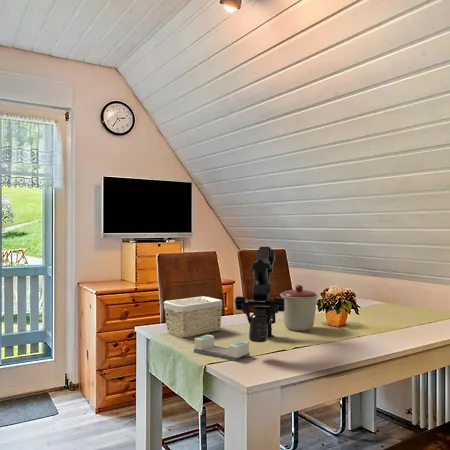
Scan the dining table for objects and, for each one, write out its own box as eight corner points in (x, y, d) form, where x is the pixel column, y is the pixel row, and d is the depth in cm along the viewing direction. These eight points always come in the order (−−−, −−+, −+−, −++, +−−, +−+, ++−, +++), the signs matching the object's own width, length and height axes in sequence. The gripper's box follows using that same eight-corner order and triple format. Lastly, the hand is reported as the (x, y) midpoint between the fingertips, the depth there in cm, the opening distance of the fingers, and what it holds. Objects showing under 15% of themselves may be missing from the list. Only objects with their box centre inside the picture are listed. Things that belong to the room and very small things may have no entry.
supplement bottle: (245, 338, 163) (247, 306, 163) (262, 337, 165) (263, 306, 165) (253, 343, 156) (255, 310, 156) (270, 342, 159) (272, 309, 159)
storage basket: (181, 339, 187) (181, 305, 187) (161, 332, 200) (162, 300, 200) (224, 331, 202) (224, 299, 203) (203, 325, 215) (203, 295, 215)
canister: (321, 326, 212) (322, 283, 212) (313, 335, 196) (313, 288, 196) (286, 323, 220) (286, 281, 220) (275, 330, 203) (275, 286, 203)
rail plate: (193, 352, 168) (193, 349, 168) (207, 346, 175) (207, 344, 175) (236, 361, 156) (236, 358, 156) (249, 355, 164) (249, 352, 164)
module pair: (194, 348, 168) (194, 338, 168) (206, 344, 175) (207, 334, 175) (237, 357, 157) (237, 346, 157) (248, 352, 163) (248, 341, 163)
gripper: (235, 275, 166) (231, 309, 155) (284, 276, 163) (283, 311, 152) (238, 292, 174) (234, 326, 163) (284, 294, 171) (284, 328, 160)
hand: (258, 323), depth 159 cm, fingers closed on supplement bottle, 7 cm apart
